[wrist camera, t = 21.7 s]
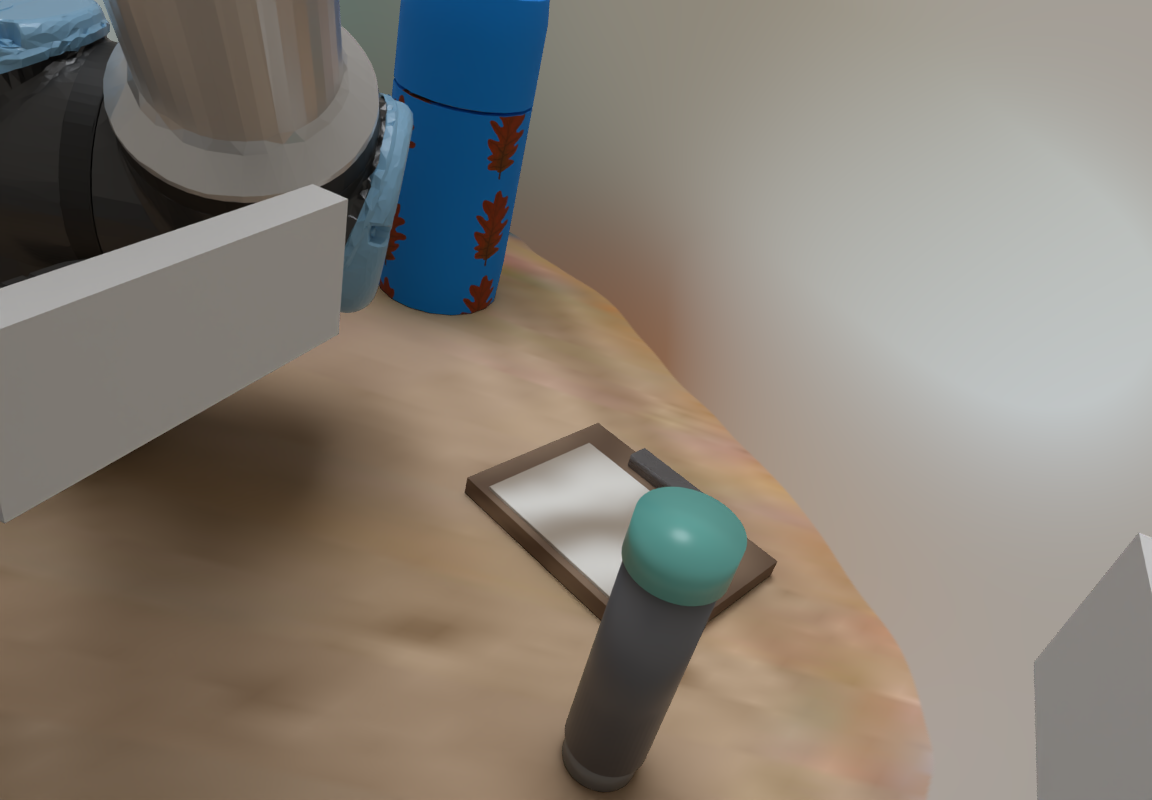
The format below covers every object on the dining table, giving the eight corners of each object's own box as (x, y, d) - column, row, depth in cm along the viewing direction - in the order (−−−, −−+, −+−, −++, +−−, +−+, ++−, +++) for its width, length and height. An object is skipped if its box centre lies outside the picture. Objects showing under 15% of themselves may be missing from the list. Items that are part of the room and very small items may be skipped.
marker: (535, 746, 39) (611, 511, 31) (598, 699, 42) (682, 473, 34) (600, 819, 37) (700, 586, 29) (662, 764, 40) (768, 539, 32)
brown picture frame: (464, 492, 53) (469, 465, 52) (594, 436, 61) (601, 411, 60) (649, 665, 45) (660, 638, 44) (770, 574, 53) (782, 550, 52)
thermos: (352, 264, 74) (376, -46, 60) (453, 250, 81) (495, -32, 67) (418, 325, 68) (461, -4, 55) (521, 304, 75) (582, 6, 61)
